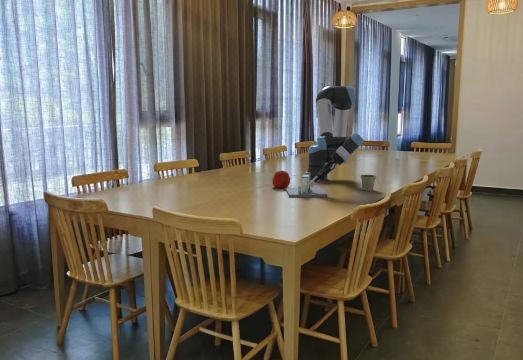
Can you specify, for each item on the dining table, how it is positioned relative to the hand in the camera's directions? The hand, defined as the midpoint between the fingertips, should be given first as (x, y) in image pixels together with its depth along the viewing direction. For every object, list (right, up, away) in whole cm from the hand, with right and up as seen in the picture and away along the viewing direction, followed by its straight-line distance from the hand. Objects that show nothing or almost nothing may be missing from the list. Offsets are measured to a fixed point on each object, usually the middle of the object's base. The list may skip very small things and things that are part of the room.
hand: (310, 185), depth 253 cm
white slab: (-2, -2, +4) cm, 5 cm away
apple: (-15, -2, +21) cm, 26 cm away
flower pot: (+36, -3, +15) cm, 39 cm away
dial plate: (-2, -4, +3) cm, 6 cm away
